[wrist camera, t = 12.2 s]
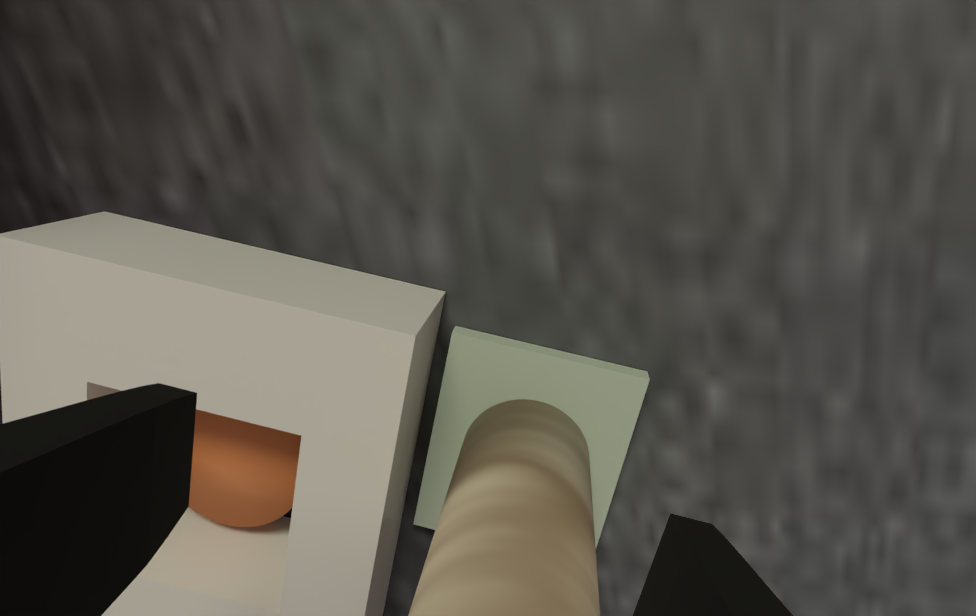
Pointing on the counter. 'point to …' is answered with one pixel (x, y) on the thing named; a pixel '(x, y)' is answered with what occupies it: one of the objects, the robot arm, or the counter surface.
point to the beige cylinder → (515, 521)
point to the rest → (534, 376)
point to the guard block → (235, 395)
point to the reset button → (242, 471)
